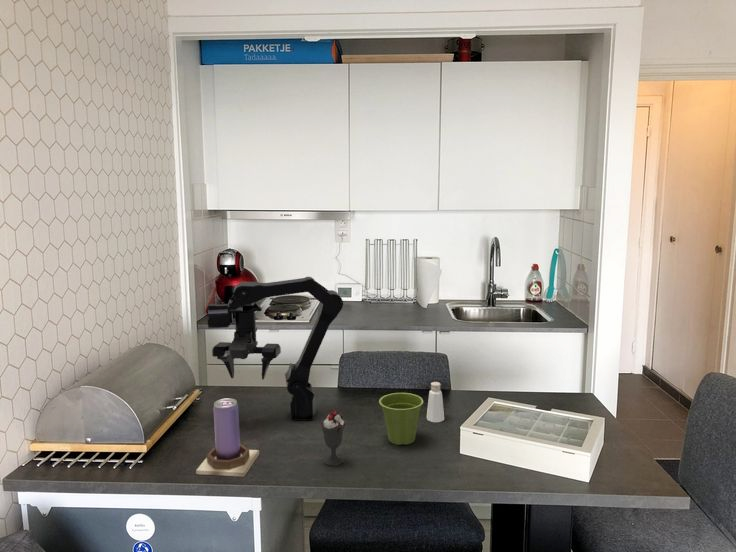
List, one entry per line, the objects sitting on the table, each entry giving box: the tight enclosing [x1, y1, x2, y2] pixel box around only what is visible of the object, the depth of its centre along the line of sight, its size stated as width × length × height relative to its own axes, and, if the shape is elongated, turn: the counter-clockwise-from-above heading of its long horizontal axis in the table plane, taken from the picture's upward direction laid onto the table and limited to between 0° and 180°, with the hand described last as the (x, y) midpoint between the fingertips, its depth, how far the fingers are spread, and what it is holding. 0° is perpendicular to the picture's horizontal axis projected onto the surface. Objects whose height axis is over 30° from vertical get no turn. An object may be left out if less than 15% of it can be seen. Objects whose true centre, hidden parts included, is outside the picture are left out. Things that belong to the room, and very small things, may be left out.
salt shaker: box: [426, 381, 445, 423], centre depth 176 cm, size 5×5×11 cm
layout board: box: [195, 443, 260, 478], centre depth 151 cm, size 12×12×3 cm
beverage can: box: [212, 397, 241, 460], centre depth 150 cm, size 6×6×15 cm
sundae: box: [319, 407, 347, 467], centre depth 151 cm, size 7×7×15 cm
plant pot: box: [378, 392, 424, 446], centre depth 163 cm, size 12×12×11 cm
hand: (247, 378), depth 175 cm, fingers open, 9 cm apart
